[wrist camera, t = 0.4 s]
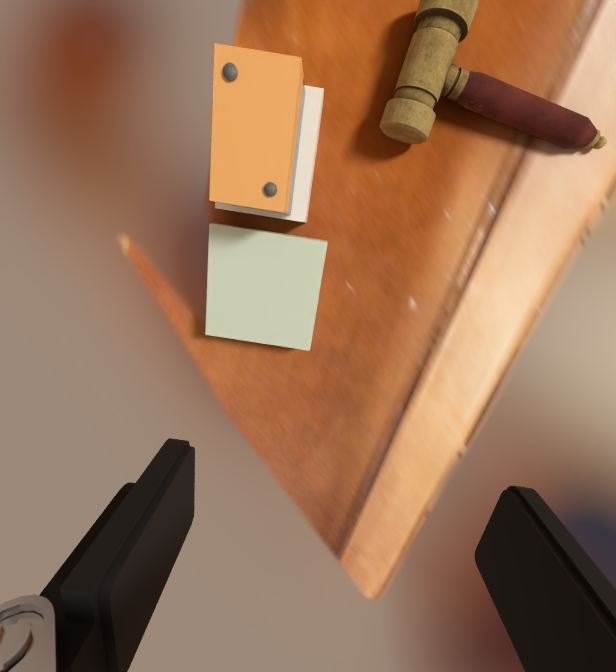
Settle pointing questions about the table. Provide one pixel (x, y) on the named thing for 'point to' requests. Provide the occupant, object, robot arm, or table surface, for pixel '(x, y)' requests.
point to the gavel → (469, 87)
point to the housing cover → (254, 127)
